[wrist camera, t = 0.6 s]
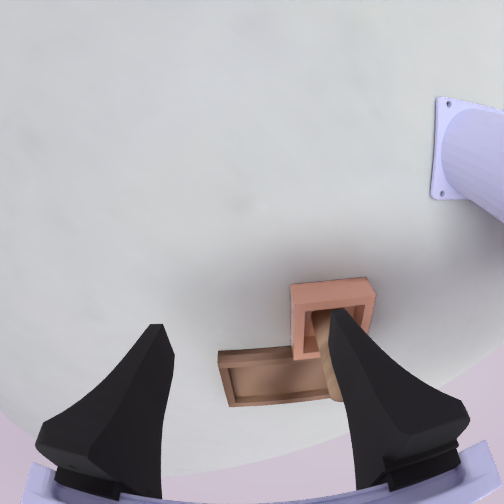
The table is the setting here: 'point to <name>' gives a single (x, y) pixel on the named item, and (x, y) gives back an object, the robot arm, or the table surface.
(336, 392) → the dowel
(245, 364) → the tray
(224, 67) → the table surface
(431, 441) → the robot arm
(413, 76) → the table surface
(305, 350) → the open box
